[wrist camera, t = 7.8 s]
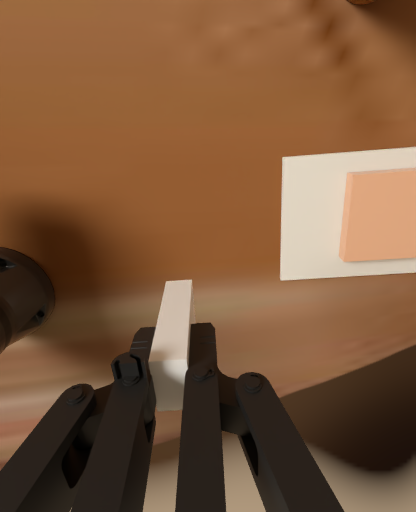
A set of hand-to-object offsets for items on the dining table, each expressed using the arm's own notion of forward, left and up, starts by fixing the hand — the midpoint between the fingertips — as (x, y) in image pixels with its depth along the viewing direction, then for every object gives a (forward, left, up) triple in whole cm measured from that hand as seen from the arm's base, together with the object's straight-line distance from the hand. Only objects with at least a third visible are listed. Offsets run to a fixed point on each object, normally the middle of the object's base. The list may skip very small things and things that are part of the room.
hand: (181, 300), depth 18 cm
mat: (+20, -11, -27) cm, 35 cm away
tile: (+17, -10, -25) cm, 32 cm away
